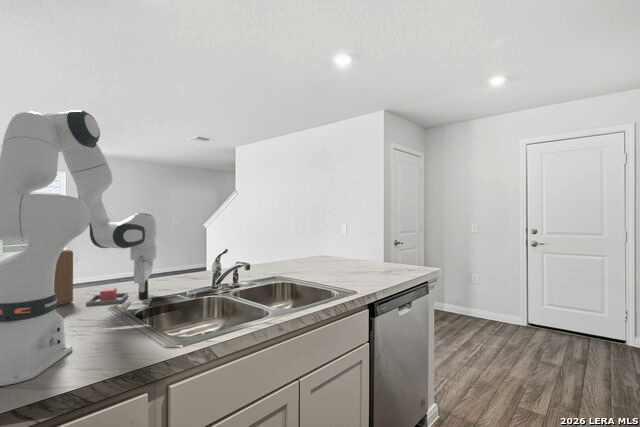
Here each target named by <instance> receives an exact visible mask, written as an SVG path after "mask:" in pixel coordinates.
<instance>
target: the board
mask: <svg viewBox="0 0 640 427" xmlns="http://www.w3.org/2000/svg"><path fill="white" fill-rule="evenodd" d="M154 296H155V294H154V293H153V294H148V299H143V300H140V299H139V294H138V295H136V296H135V297H134V299H133V300H132V302H131V303H130V304H129V306H128V307H127V308H126V310H138V309H148V308H149V306H150V303H151V301H152V299H153V297H154Z"/></svg>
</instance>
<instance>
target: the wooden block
mask: <svg viewBox="0 0 640 427" xmlns="http://www.w3.org/2000/svg"><path fill="white" fill-rule="evenodd" d="M54 293H55V294H56V298H57V307H61V306H64V305H68V304H71V303H72V302H73V301H74V251H73V250H71V249H63V251H62V252H61V254H60V256H59V258H58V260H57V263H56V269H55V279H54ZM57 307H56V308H57Z"/></svg>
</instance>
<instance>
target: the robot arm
mask: <svg viewBox="0 0 640 427" xmlns="http://www.w3.org/2000/svg"><path fill="white" fill-rule="evenodd" d="M100 136H101V130H100V127H99V125H98V122H97V121H96V119H95V118H94V117H93V116H92V114H90V113H88V112H87V111H85V110H69V111H63V112H54V113H53V112H52V113H46V114H41V113H40V112H34V111H22V112H19V113H16V114H15V115H13V116H12V117H11V120H10V121H9V123H8V125H7V126H6V130H5V132H4V135H3V139H2V144H1V151H0V241H12V240H13V241H17V240H18V241H20V240H24V241H25V240H26V241H27V242H28V244H27V247H26V249H24V250H22V251H20V252H17V253H15V254H12V255H10V256H8V257H6V258H4V259H2V260H0V387H2V386H9V385H12V384H17V383H22V382H25V381H27V380H31V379H34V378H36V377H37V376H38V375H40V374H41V373H43V372H44V371H45V370H47V369H48V368H49V367H51V366H52V365H54V364H55V363H57V362H58V361H60V359H63V357H65V356H66V355H68V354H70V353H71V352H72V351H73V346H72V345H70V344H66V333H65V321H64V317H63V316H62V315H60V314H59V313H58V312H57V311H56V308H57V298H56V294H55V293H54V279H55V269H56V263H57V260H58V258H59V256H60V254H61V252H62V251H63V250H65V248H66V247H67V246H68V244H70V243H71V242H72V241H73V240H74V239H75V238H78V237H79V236H80V235H81V234H83V233H84V232H85V231H86V230H87V229H88V227H89V238H90V241H91V243H92V244H93V245H94V246H95V247H97V248H100V249H120V250H121V249H129V248H130V257H129V259H130V261H134V262H133V264H134V266H133V267H134V268H133V283H134V284H138V293H139V292H144V291H145V281H146V280H147V279H148V280H149V277H150V276H151V274H152V271H153V265H154V260H155V259H157V244H156V237H157V224H156V223H157V222H156V219H155V217H154V216H153V215H152V214H150V213H143V212H134V213H132V215H131V216H128V218H126V219H124V220H121V221H117V222H115V221H113V220H111V219H110V218H109V216H108V214H107V211H106V209H105V205H104V202H103V200H102V196H103V194H104V193H105V191H107V190H108V188H110V186H111V184H112V182H113V175H112V174H113V173H112V170H111V168H110V166H109V163H108V162H107V159H106V157H105V155H104V153H103V152H102V150H101V148H100V147H99V144H98V142H99V140H100ZM59 153H62V155H63V158H64V161H65V164H66V167H67V169H68V171H69V172H70V175H71V177H72V179H73V182H74V184H75V187H76V191H77V195H78V197H75V196H70V195H69V196H68V195H63V194H54V193H52V194H51V193H33V192H35V191H38V190H42V189H44V188H47V187H48V186H50V185H51V184H52V183H53V182H54V181H55V179H56V178H57V176H58V162H59Z"/></svg>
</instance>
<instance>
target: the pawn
mask: <svg viewBox="0 0 640 427" xmlns="http://www.w3.org/2000/svg"><path fill="white" fill-rule="evenodd" d="M138 295H139V299H140V300H143V299H148V295H149V278H148V279H147V280H146V281H145V291H144V292H139V291H138Z"/></svg>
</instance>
